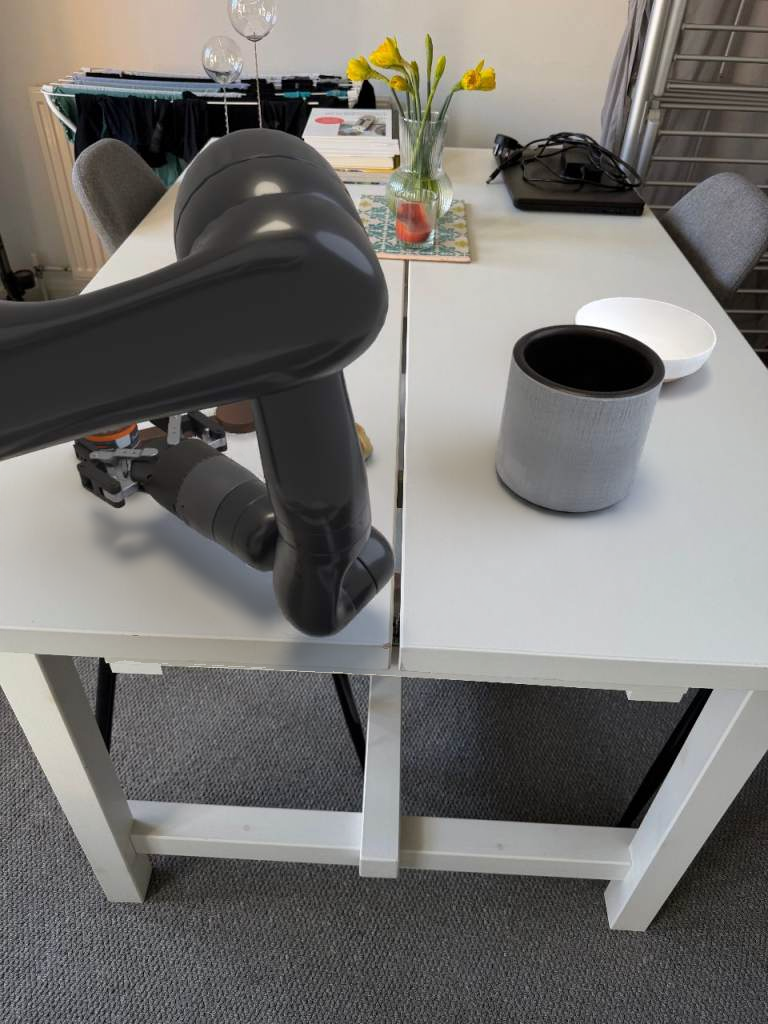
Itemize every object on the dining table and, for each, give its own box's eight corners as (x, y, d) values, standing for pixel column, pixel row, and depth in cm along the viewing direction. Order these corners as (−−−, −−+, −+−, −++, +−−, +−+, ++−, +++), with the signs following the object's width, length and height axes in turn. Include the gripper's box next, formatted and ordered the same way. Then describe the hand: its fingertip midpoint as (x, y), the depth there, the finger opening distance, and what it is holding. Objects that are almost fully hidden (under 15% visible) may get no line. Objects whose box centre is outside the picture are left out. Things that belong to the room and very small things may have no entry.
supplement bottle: (153, 491, 82) (132, 405, 75) (98, 502, 81) (71, 416, 73) (145, 461, 87) (126, 377, 79) (93, 471, 85) (68, 386, 78)
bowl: (652, 327, 117) (662, 290, 113) (732, 388, 103) (747, 348, 99) (543, 343, 112) (549, 305, 108) (611, 409, 98) (622, 368, 94)
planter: (549, 421, 95) (571, 309, 85) (657, 478, 86) (697, 361, 76) (465, 470, 87) (480, 352, 77) (576, 539, 78) (609, 416, 68)
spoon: (89, 471, 85) (86, 462, 84) (79, 442, 89) (77, 433, 88) (273, 426, 93) (273, 416, 92) (257, 401, 97) (256, 392, 96)
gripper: (264, 429, 71) (164, 371, 79) (140, 497, 63) (42, 425, 71) (270, 489, 76) (175, 429, 84) (156, 559, 68) (62, 485, 76)
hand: (114, 427), depth 77 cm, fingers open, 8 cm apart
